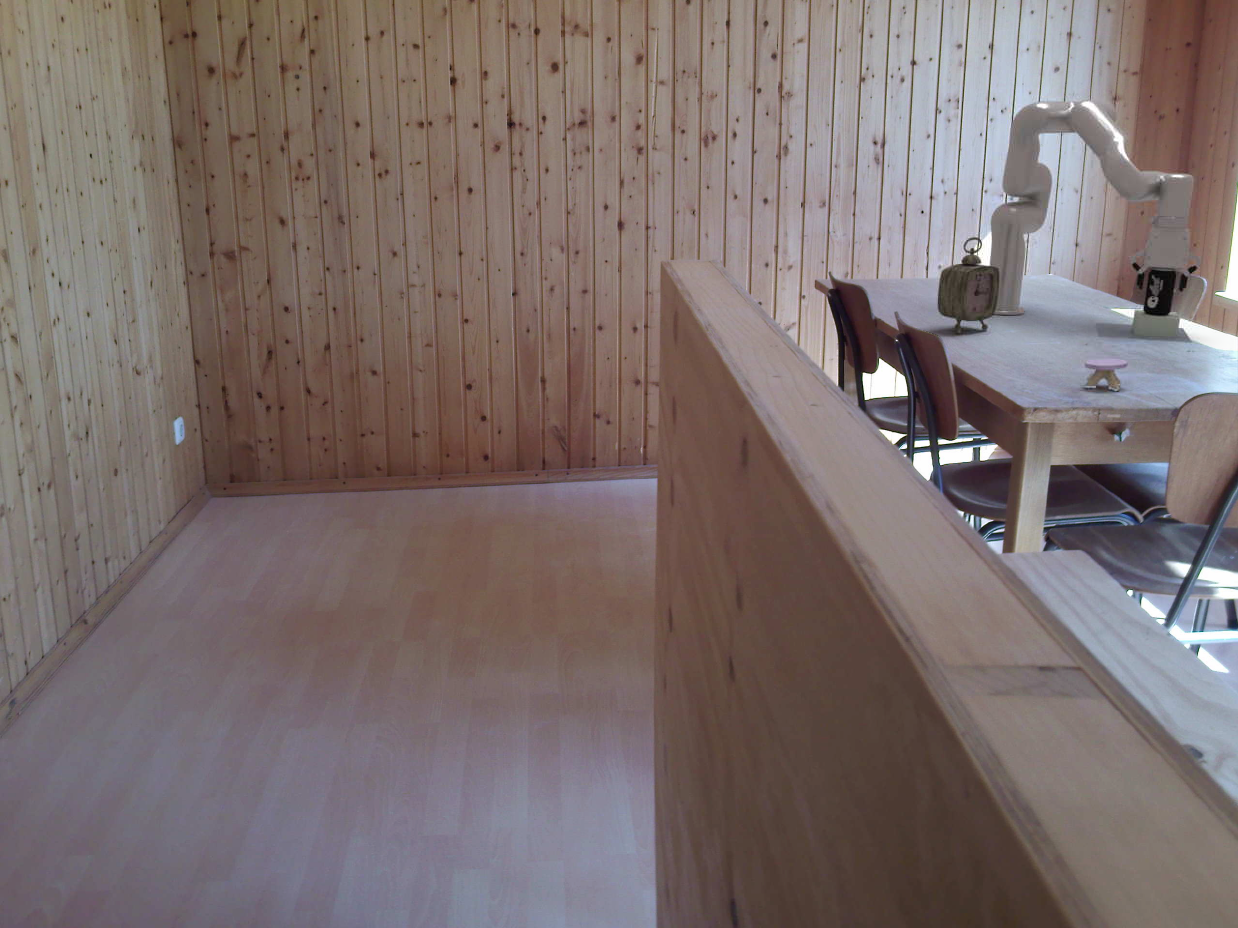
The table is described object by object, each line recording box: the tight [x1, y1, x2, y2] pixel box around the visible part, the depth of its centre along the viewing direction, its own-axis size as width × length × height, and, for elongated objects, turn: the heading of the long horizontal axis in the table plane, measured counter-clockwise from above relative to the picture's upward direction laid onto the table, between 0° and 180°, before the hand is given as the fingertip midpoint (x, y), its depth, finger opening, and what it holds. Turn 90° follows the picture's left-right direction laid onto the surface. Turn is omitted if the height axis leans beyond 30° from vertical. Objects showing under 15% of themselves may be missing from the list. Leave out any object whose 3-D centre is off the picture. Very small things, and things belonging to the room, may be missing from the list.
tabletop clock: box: [937, 236, 999, 335], centre depth 300 cm, size 14×9×25 cm, turn 123°
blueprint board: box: [1095, 322, 1193, 343], centre depth 298 cm, size 22×20×1 cm
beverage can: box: [1142, 267, 1177, 316], centre depth 294 cm, size 7×7×12 cm
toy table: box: [1084, 358, 1129, 390], centre depth 244 cm, size 10×9×6 cm
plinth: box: [1132, 309, 1181, 338], centre depth 297 cm, size 10×10×5 cm
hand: (1160, 289), depth 294 cm, fingers open, 9 cm apart
